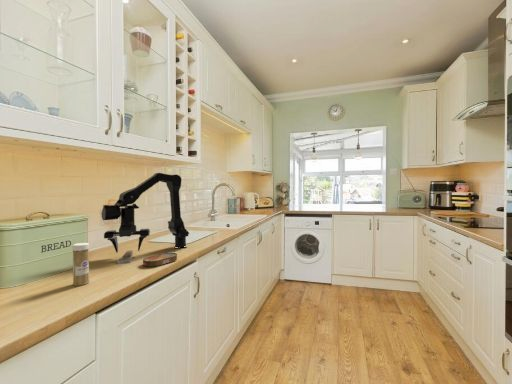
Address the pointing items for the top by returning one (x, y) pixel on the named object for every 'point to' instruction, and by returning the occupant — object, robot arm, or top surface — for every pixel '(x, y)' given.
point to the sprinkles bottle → (80, 264)
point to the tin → (159, 259)
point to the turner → (126, 257)
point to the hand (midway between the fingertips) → (128, 251)
